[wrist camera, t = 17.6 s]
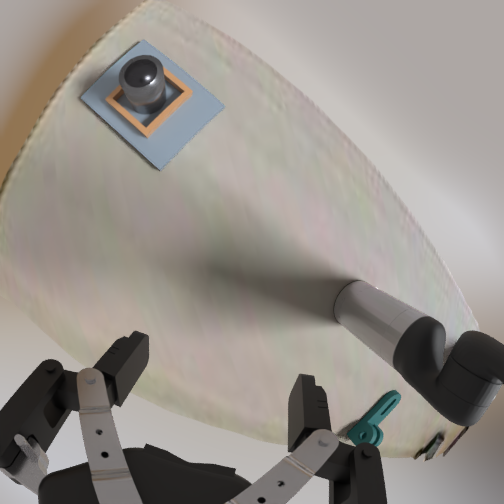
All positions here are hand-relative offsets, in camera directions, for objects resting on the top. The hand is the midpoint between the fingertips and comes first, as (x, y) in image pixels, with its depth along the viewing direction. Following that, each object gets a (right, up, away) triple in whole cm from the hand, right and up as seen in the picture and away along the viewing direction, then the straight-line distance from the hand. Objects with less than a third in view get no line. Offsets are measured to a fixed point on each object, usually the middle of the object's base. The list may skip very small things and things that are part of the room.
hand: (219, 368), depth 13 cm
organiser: (-13, +28, +20) cm, 37 cm away
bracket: (+36, -40, +48) cm, 72 cm away
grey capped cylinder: (-13, +27, +19) cm, 36 cm away
